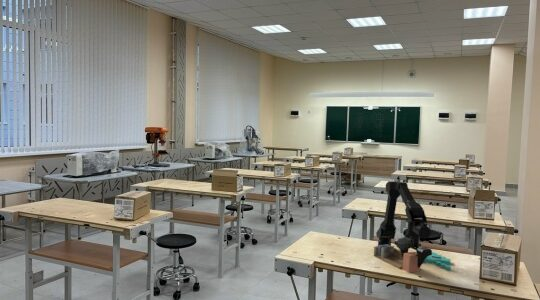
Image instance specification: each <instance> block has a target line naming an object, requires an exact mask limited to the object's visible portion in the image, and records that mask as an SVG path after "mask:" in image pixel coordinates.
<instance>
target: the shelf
mask: <svg viewBox="0 0 540 300" xmlns="http://www.w3.org/2000/svg"><path fill="white" fill-rule="evenodd" d="M373 248H374V249H373V257H375V258H377V259H379V260H381V261H383V262H385V263H386V264H389V265H391V266H393V267H395V268H397V269H399V270H401V269H402V270H403V258H402V254H401V251H400V249H399V248H397V247H396V248H395V246H394V245H391V246H390V245H388V244H385V245H378V244H377V246H374V247H373Z"/></svg>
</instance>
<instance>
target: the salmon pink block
mask: <svg viewBox="0 0 540 300" xmlns="http://www.w3.org/2000/svg"><path fill="white" fill-rule="evenodd" d="M416 254H417V253H416V251H411V252H409V251H408V253H404V255H403V268H402V270H403V271H405V272H407V273H413V272H420V270H421V267H420V268H418V266H417V262H418V257H417V256H416Z"/></svg>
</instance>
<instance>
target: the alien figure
mask: <svg viewBox="0 0 540 300" xmlns="http://www.w3.org/2000/svg"><path fill="white" fill-rule="evenodd" d="M415 252H416V251H415ZM416 253H417V252H416ZM423 263H428V264H432V263H433V264H434V265H435V266H436V267H439V268H441V269H444V270H445V271H448V272H449V271H450V272H451V269H452V268H451V263H452V261H451V258H447V257H446V256H442V254H438V253H437V252H433V251H432V255H430V256H427V258H426V259H425V260H424V262H423Z"/></svg>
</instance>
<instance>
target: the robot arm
mask: <svg viewBox="0 0 540 300" xmlns="http://www.w3.org/2000/svg"><path fill="white" fill-rule="evenodd" d="M385 192H386V195H387V201H386V206H385V213H384V220H382V221H381V223H380V225H379V228H378V230H377V231H376V233H375V234H376V237H377V238H378V241H377V246H378V245H385V244H388V245H390V246H392V240H394V239H395V240H394V245H395V246H396V248H397V249H398V250H400V251H401V254H402V258H403V255H404V253H409V249H412V250H415V252H417V254H416V256H417V257H418V262H417V266H418V268H420V269H421V266H422V265H423V263H425V262H424V260H425V259H426V258H427V256H430V255H432V252H433V250H432V248H429V247H427V246H422V243H420V242H421V241H420V239H424V240H426V239H428V238H429V237H430V236H431V234H432V231H431V228H430V227H428V221H427V220H428V218H427V215H426V213H425V210H424V208H423V207H422V205H421V204H420V203H419V202H417V201H416V200H415V198H414V197H413V194H412V192H411V190H410V188H409V185H408V183H407V182H404V181H394V180H389V181H387V182H386V184H385ZM399 197H401V199H402V201H403V203H404V205H405V209H404V211H405V216H406V217H407V218H406V221H407V228H406V229H407V231H406V233H405V234H404V237H401V238H395V237H396V233H397V232H396V231H397V228H396V226H395V223H394V221H395V213H396V208H397V203H398V198H399ZM421 246H422V247H421Z"/></svg>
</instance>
